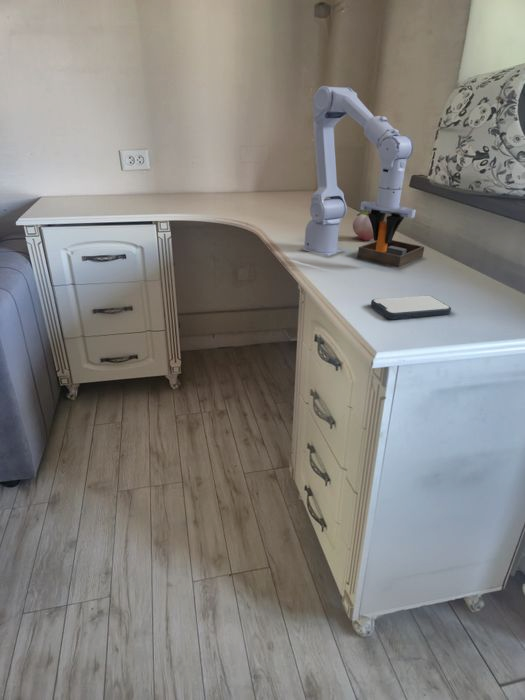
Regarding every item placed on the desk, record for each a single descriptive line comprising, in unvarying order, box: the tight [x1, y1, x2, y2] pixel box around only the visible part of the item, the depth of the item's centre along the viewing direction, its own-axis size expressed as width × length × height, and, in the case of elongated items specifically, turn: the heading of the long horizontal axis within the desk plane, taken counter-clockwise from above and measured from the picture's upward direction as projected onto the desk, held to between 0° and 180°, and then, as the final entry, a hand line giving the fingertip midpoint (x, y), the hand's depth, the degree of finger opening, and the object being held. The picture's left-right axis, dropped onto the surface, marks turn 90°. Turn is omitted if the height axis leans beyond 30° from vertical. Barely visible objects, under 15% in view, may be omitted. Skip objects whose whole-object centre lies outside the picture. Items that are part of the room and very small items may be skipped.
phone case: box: [370, 295, 452, 320], centre depth 108 cm, size 9×2×16 cm
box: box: [357, 239, 425, 268], centre depth 143 cm, size 13×15×4 cm
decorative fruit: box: [352, 210, 374, 242], centre depth 159 cm, size 9×8×10 cm
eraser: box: [387, 246, 407, 256], centre depth 146 cm, size 5×3×2 cm, turn 49°
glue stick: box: [376, 220, 388, 252], centre depth 129 cm, size 3×3×8 cm
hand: (382, 241), depth 129 cm, fingers closed on glue stick, 3 cm apart
